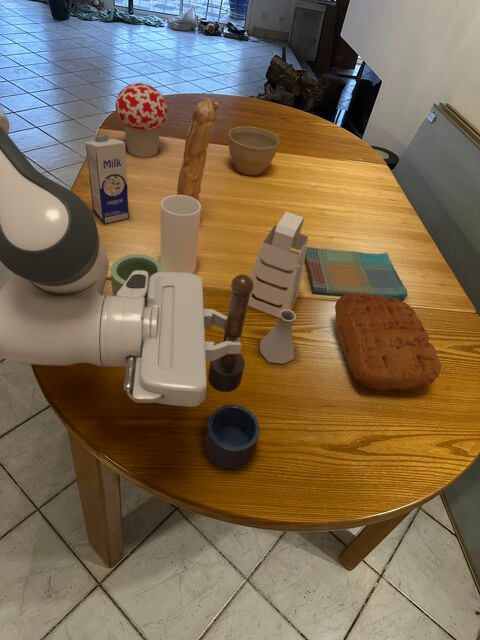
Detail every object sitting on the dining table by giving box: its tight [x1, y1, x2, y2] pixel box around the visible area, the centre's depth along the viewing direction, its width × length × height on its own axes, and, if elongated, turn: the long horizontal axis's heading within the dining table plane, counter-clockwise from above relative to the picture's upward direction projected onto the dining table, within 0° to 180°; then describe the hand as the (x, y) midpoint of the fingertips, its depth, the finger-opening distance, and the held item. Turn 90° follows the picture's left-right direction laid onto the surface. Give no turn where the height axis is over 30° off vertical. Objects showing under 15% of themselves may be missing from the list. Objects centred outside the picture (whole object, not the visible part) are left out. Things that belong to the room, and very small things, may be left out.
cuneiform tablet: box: [334, 294, 442, 391], centre depth 84 cm, size 22×17×8 cm
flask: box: [259, 309, 297, 365], centre depth 80 cm, size 7×7×10 cm
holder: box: [204, 404, 261, 470], centre depth 65 cm, size 8×8×6 cm
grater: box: [248, 211, 309, 319], centre depth 88 cm, size 10×10×20 cm
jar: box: [109, 253, 164, 296], centre depth 84 cm, size 10×10×10 cm
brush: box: [207, 274, 253, 393], centre depth 54 cm, size 5×5×19 cm
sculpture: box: [176, 97, 220, 204], centre depth 102 cm, size 7×9×30 cm
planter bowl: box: [228, 126, 280, 176], centre depth 136 cm, size 16×16×11 cm
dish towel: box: [304, 246, 408, 300], centre depth 104 cm, size 17×23×2 cm
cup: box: [159, 194, 202, 274], centre depth 92 cm, size 8×8×16 cm
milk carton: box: [84, 134, 130, 225], centre depth 102 cm, size 7×7×20 cm
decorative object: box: [115, 82, 168, 158], centre depth 131 cm, size 16×16×20 cm
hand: (239, 334), depth 55 cm, fingers closed on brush, 2 cm apart
